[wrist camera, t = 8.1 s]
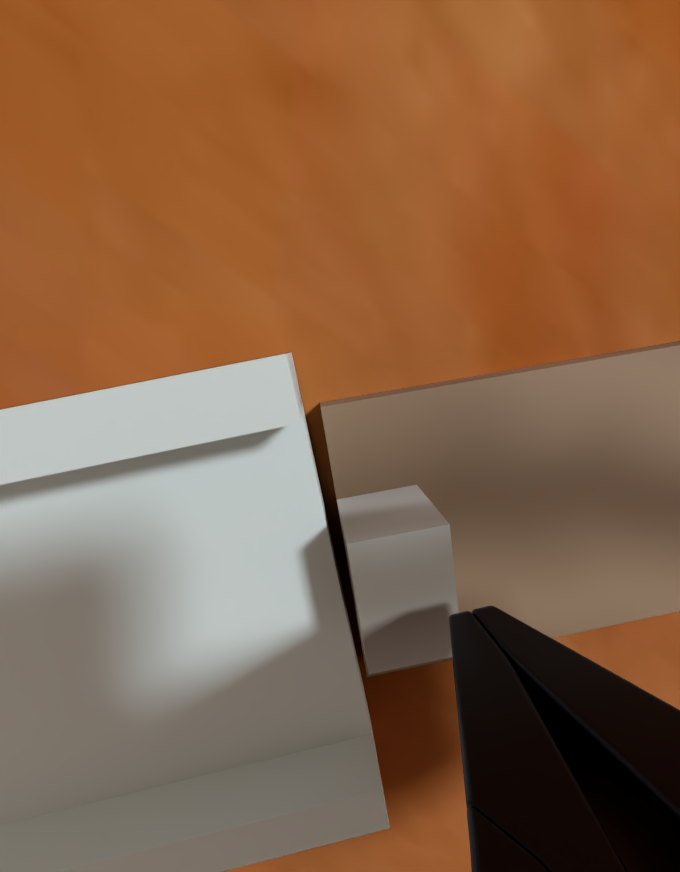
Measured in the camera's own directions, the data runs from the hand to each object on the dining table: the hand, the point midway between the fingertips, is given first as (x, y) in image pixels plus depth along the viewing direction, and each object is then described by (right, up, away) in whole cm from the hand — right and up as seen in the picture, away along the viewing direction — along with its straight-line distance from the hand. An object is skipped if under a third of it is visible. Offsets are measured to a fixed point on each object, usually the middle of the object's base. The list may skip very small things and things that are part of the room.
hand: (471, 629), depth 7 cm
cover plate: (+3, +2, +4) cm, 5 cm away
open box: (-11, -1, +3) cm, 11 cm away
